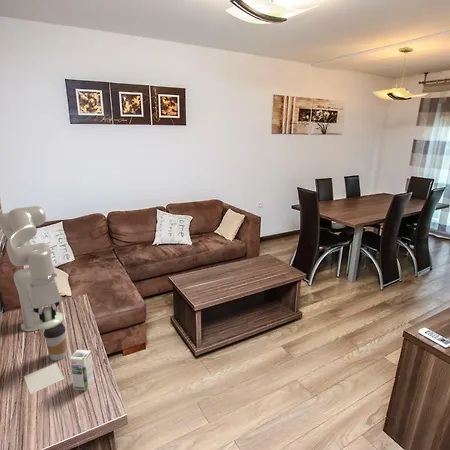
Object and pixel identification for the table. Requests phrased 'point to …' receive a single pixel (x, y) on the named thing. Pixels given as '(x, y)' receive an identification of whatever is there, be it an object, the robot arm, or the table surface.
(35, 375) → the mat
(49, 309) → the lid
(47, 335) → the coffee cup
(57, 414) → the table surface
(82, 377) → the syrup box
